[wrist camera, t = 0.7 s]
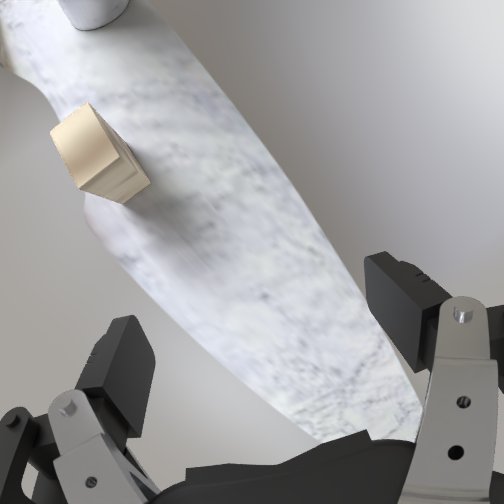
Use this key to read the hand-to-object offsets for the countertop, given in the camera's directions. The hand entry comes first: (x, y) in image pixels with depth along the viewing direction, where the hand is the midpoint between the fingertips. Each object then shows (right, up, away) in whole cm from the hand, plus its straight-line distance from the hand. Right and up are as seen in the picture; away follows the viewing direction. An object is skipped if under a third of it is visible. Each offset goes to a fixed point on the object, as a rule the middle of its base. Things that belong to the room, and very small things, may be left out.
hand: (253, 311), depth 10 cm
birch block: (-14, +11, +22) cm, 29 cm away
